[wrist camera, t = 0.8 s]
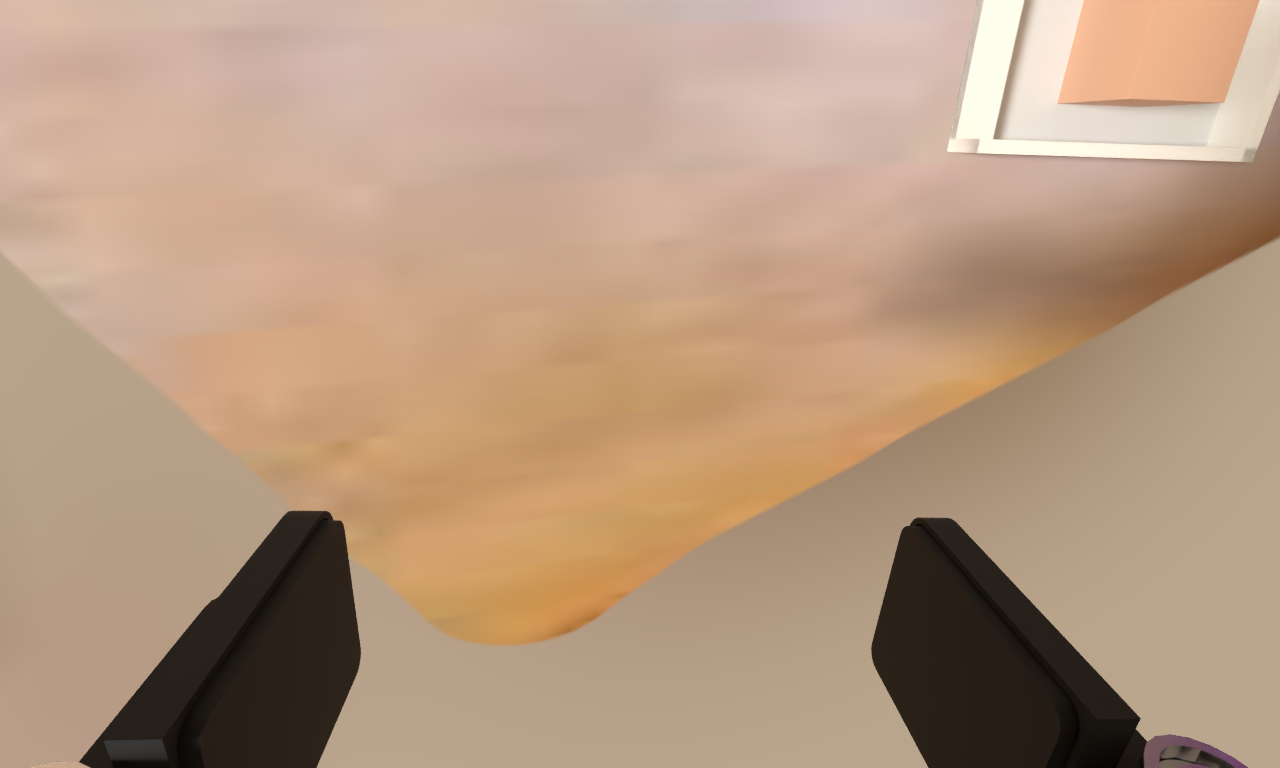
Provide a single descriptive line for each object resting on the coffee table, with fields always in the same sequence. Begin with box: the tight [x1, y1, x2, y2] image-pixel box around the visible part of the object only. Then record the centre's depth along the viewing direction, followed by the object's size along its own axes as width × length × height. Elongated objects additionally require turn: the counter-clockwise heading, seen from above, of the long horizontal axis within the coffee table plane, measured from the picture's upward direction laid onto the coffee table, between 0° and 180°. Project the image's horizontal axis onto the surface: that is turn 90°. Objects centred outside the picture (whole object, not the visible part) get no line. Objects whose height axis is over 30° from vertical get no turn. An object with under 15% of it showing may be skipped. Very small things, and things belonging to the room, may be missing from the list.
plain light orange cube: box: [1057, 0, 1260, 107], centre depth 32 cm, size 5×5×5 cm
